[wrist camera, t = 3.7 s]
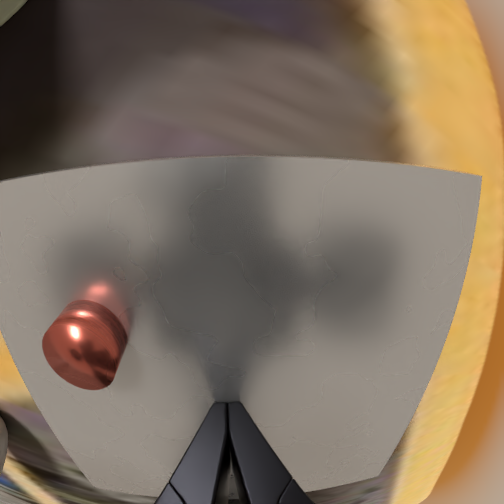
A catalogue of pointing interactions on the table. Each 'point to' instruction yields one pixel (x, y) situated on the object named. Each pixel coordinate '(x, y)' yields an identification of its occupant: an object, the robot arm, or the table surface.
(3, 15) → the can
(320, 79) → the table surface
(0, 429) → the donut
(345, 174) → the lid
